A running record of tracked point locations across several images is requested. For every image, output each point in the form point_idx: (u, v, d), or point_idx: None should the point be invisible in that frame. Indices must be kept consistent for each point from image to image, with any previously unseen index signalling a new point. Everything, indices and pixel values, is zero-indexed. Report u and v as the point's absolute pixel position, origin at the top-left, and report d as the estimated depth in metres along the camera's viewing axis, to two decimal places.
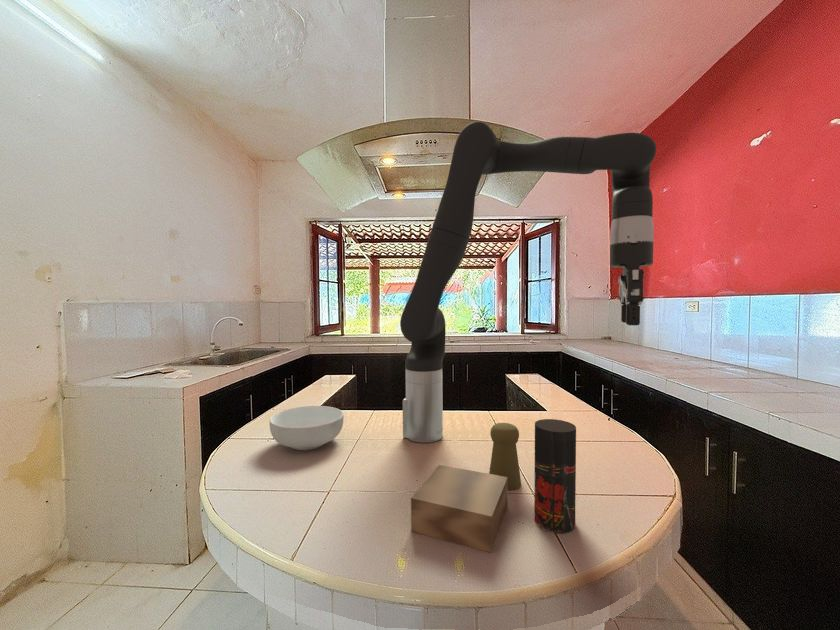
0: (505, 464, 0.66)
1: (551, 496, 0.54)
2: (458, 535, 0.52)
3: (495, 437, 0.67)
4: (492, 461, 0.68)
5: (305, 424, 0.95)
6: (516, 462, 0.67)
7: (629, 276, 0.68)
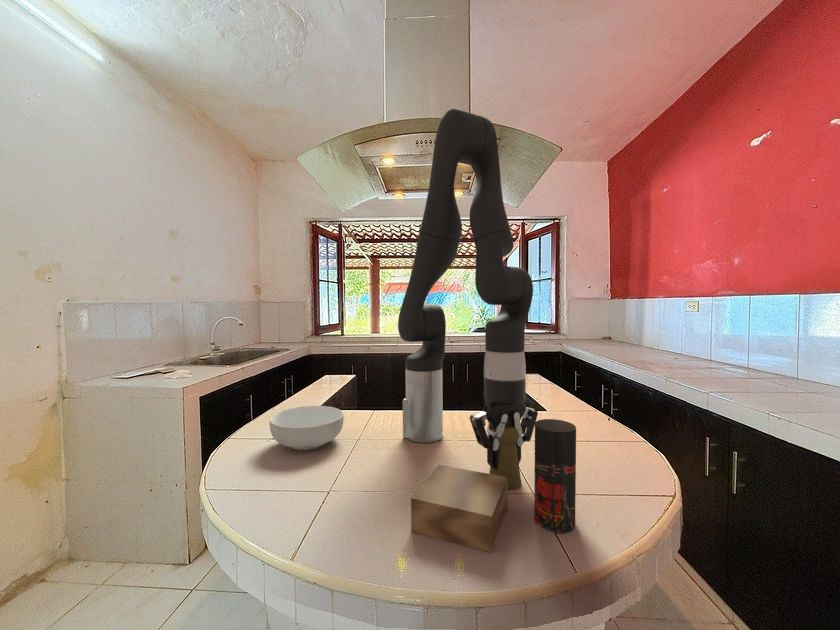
0: (505, 464, 0.66)
1: (551, 496, 0.54)
2: (458, 535, 0.52)
3: None
4: None
5: (305, 424, 0.95)
6: (516, 462, 0.67)
7: None
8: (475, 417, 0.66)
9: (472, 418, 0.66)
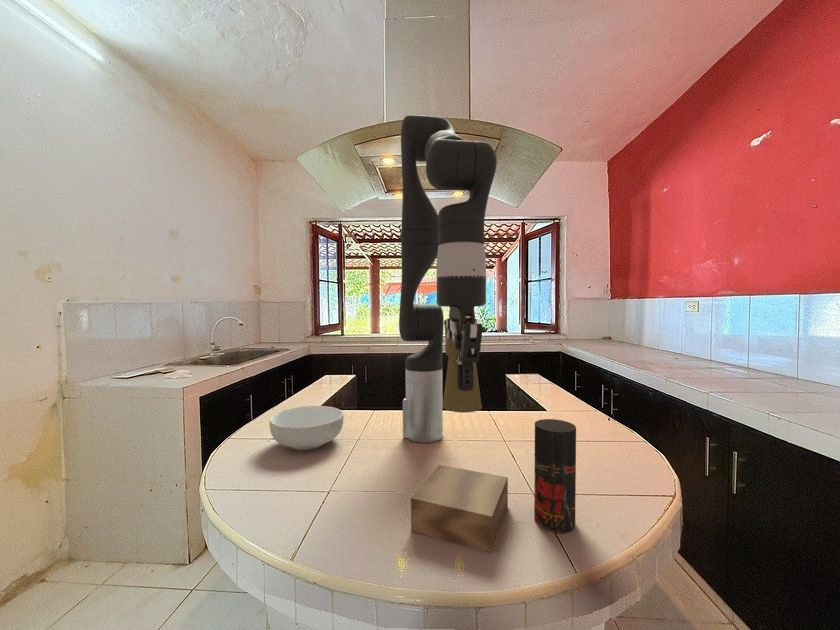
0: (477, 379, 0.56)
1: (551, 496, 0.54)
2: (458, 535, 0.52)
3: None
4: None
5: (305, 424, 0.95)
6: None
7: None
8: (475, 324, 0.50)
9: (473, 326, 0.50)
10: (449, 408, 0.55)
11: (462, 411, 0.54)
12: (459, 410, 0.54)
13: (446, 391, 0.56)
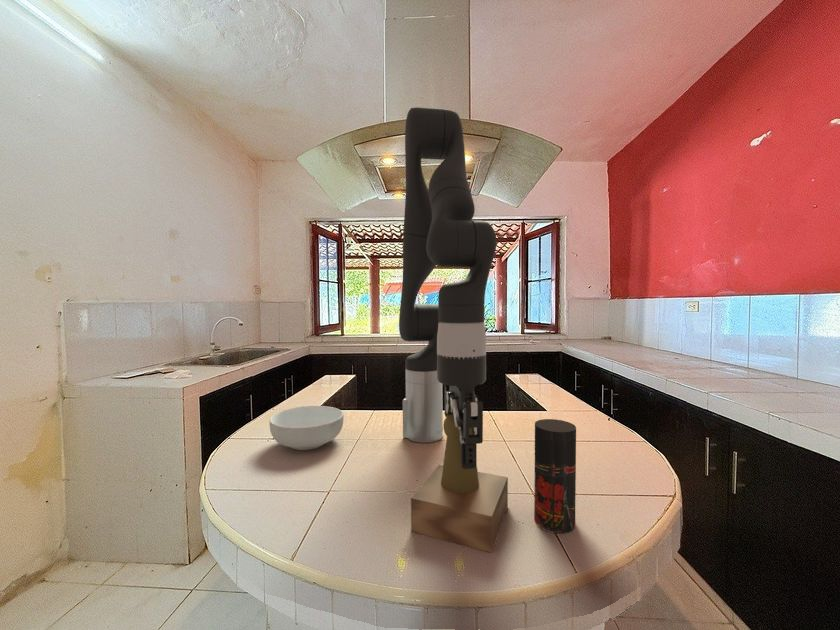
0: None
1: (551, 496, 0.54)
2: (458, 535, 0.52)
3: None
4: (460, 464, 0.56)
5: (305, 424, 0.95)
6: None
7: None
8: (475, 401, 0.51)
9: (473, 404, 0.50)
10: (446, 487, 0.57)
11: (459, 492, 0.56)
12: (456, 491, 0.56)
13: (444, 469, 0.58)
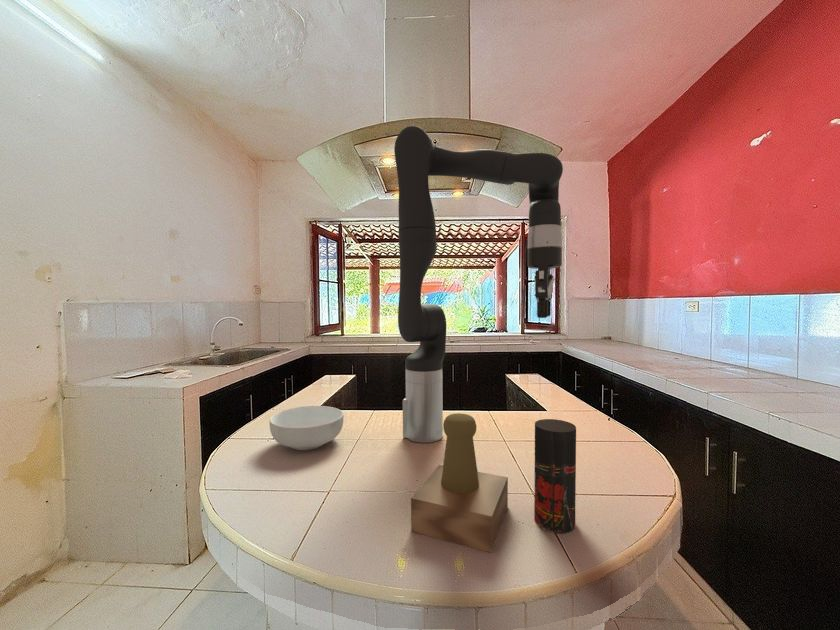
0: (474, 459, 0.57)
1: (551, 496, 0.54)
2: (458, 535, 0.52)
3: (467, 432, 0.56)
4: (460, 464, 0.56)
5: (305, 424, 0.95)
6: None
7: None
8: (543, 270, 0.80)
9: (541, 271, 0.80)
10: (446, 487, 0.57)
11: (459, 492, 0.56)
12: (456, 491, 0.56)
13: (444, 469, 0.58)
